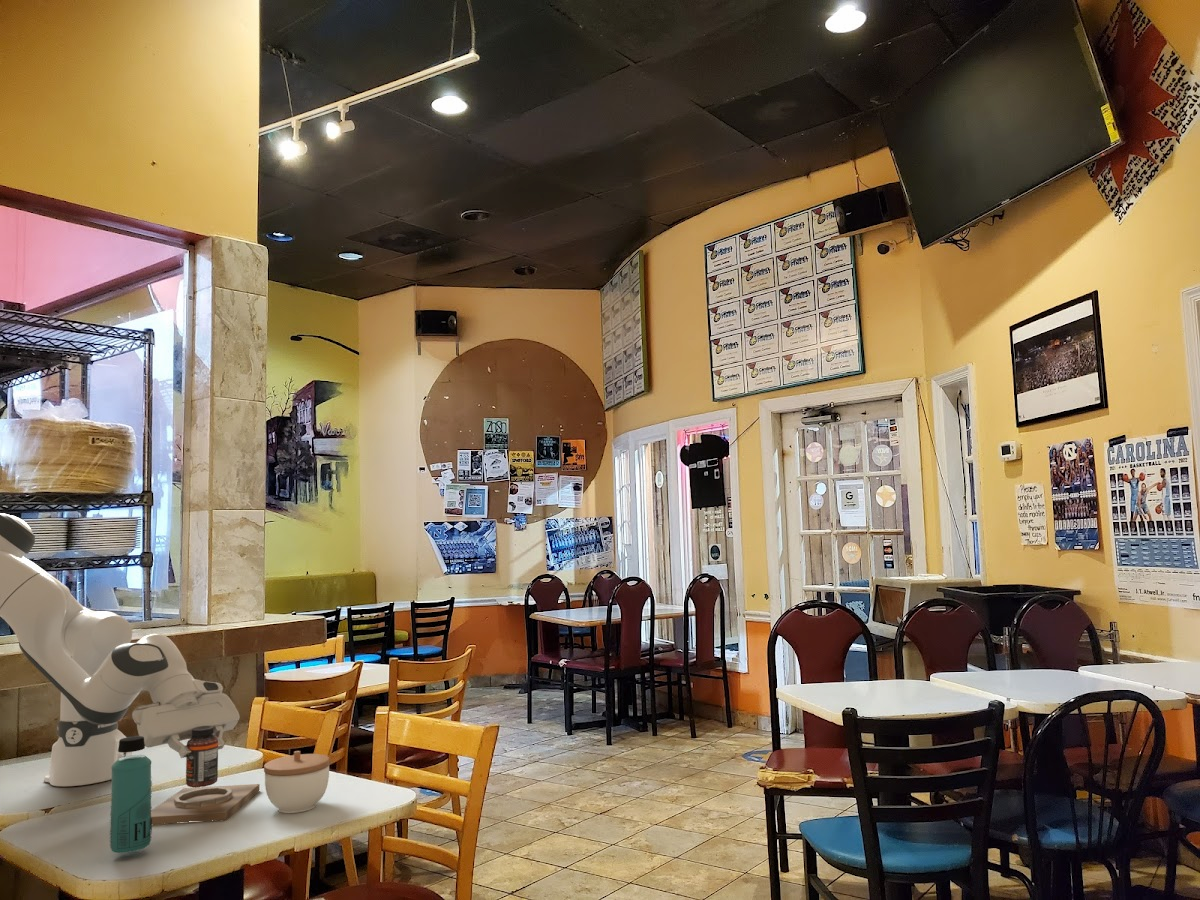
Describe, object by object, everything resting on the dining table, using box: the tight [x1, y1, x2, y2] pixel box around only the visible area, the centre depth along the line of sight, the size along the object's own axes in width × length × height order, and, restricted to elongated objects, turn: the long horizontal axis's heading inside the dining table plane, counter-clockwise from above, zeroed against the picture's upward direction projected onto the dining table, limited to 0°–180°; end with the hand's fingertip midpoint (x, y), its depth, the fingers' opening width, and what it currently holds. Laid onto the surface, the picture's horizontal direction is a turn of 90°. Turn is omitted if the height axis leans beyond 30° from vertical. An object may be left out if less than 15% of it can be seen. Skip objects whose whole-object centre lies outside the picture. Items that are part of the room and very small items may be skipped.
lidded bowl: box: [263, 750, 331, 814], centre depth 176 cm, size 13×13×11 cm
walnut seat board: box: [151, 783, 261, 825], centre depth 179 cm, size 20×16×2 cm
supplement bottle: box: [185, 726, 219, 788], centre depth 179 cm, size 6×6×11 cm
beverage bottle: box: [109, 735, 153, 854], centre depth 153 cm, size 6×7×20 cm
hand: (203, 751), depth 179 cm, fingers closed on supplement bottle, 6 cm apart
